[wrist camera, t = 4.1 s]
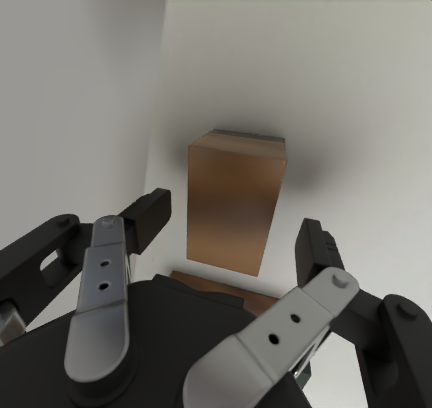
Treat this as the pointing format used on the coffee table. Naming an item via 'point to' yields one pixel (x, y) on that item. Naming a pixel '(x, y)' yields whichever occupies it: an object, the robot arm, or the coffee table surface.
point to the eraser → (232, 198)
